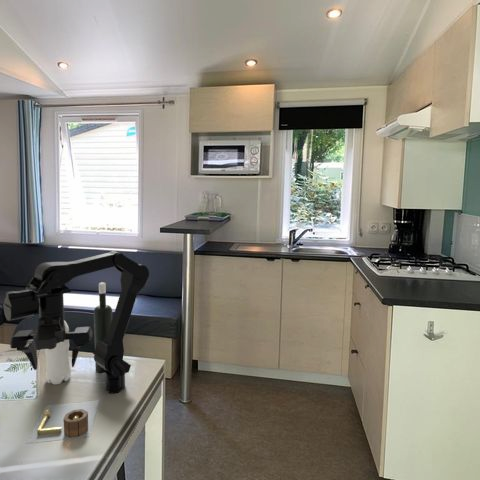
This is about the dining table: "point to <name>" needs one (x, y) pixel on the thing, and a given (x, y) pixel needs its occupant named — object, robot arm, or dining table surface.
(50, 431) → the bent rail
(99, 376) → the dining table surface
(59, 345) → the water bottle
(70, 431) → the walnut ring
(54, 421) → the slate board
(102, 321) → the wine bottle
